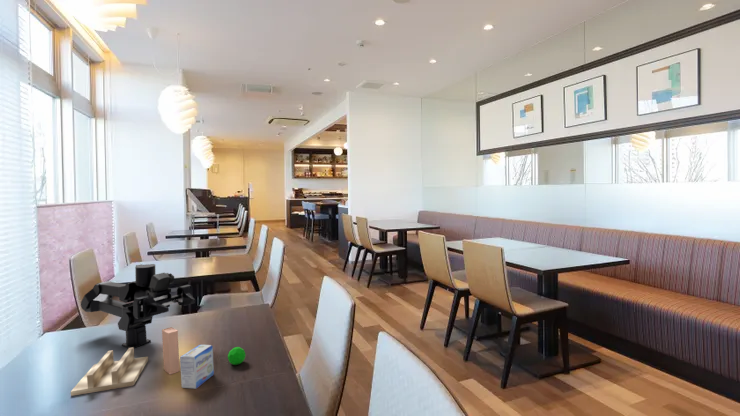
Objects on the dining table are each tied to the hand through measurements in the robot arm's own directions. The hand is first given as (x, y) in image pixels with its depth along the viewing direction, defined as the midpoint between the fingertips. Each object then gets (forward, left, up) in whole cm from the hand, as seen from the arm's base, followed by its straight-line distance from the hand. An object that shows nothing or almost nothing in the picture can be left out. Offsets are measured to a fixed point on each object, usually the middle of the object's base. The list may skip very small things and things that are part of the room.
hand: (182, 305), depth 115 cm
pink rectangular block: (+4, -7, -17) cm, 19 cm away
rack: (-8, -16, -17) cm, 25 cm away
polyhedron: (+19, +4, -17) cm, 25 cm away
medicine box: (+17, -8, -17) cm, 25 cm away
